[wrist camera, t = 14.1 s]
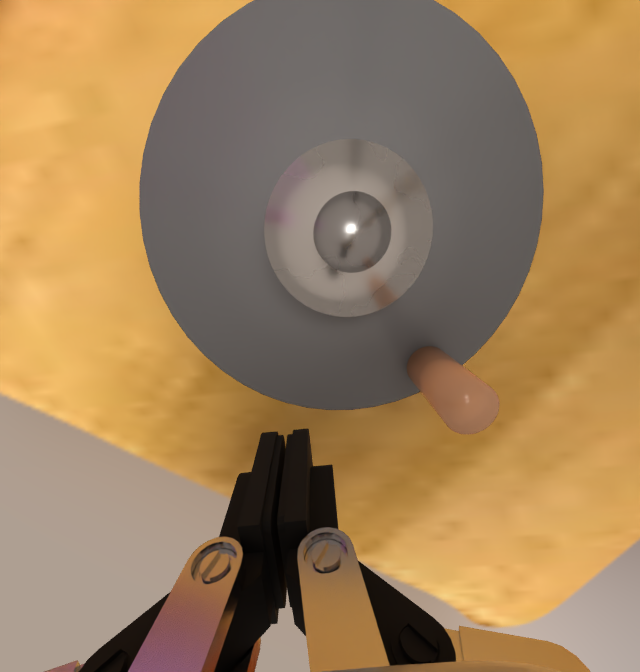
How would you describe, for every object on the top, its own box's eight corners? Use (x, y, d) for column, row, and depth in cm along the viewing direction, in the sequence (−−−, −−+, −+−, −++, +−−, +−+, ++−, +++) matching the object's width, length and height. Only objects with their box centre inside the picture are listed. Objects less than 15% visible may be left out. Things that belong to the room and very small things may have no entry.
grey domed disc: (412, -93, 15) (503, -381, 8) (570, 282, 20) (709, 302, 13) (75, 171, 17) (-78, 121, 10) (294, 448, 22) (290, 539, 15)
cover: (358, 125, 15) (377, 84, 11) (435, 251, 17) (475, 252, 13) (242, 220, 16) (222, 212, 12) (326, 330, 18) (332, 354, 14)
